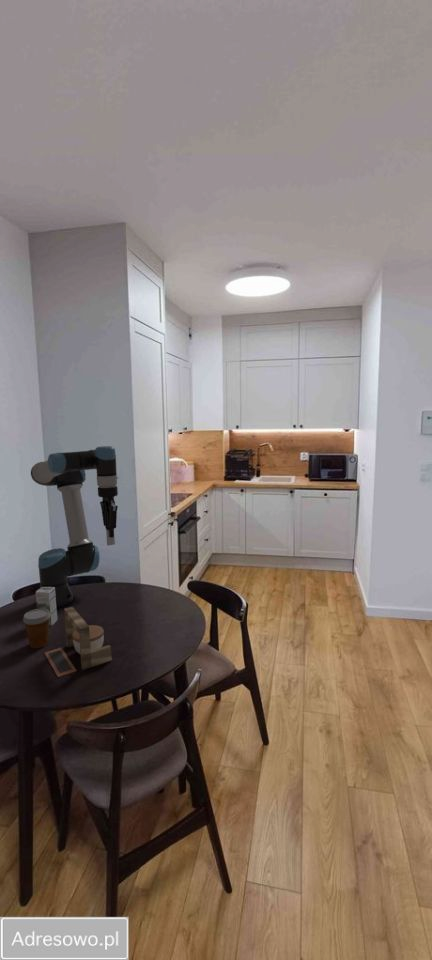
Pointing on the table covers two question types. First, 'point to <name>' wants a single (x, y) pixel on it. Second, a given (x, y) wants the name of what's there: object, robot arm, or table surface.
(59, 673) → the framed chalkboard
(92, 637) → the lidded jar
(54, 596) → the syrup box
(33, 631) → the disposable coffee cup
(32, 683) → the table surface
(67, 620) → the tunnel
